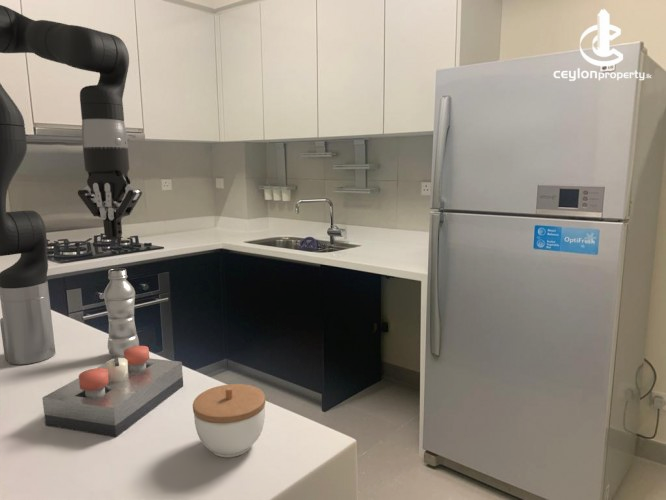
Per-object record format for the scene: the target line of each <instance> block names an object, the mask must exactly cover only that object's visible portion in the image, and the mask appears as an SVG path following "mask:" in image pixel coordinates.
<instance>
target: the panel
mask: <svg viewBox="0 0 666 500" xmlns="http://www.w3.org/2000/svg"><path fill="white" fill-rule="evenodd" d="M118 358H124V355H120V356H118ZM97 368H104V369H106V362H105V363H104V364H102V365H100V366H98V367H97ZM182 387H184V376H183V361H177V360H169V359H160V358H152V357H151V358H150V357H149V360H148V361H146V369H144V370H143V371H141V372H135V371H129V364H128V378H127V379H126V380H124V381H121V382H115V383H112V382H109V383H108V385H106V386H105V394H104V395H103V396H101V397H99V398H98V399H91V398H86V396H85V390H82V389H80V384H79V377H78V378H76V379H74V380H72V381H70V382H69V383H67V384H64V385H63V386H61V387H59V388H58V389H55V390H54V391H52V392H50V393H48V394H46V395H44V396H43V397H42V406H43V415H44V425H45V427H52V428H57V429H62V430H63V429H65V430H71V431H77V432H80V433H81V432H82V433H89V434H94V435H100V436H107V437H111V438H112V437H113V438H117V437H118V436H120V435H122V434H123V433H124V432H125V431H127V430H128V429H129V428H130V427H132V426H133V425H134V424H136V423H137V422H138V421H139V420H141V419H142V418H143V417H145V416H146V415H148V413H150V412H151V411H153V410H154V409H156V408H157V407H158V406H160V404H162V403H164V401H165V400H167V399H168V398H169V397H171V396H172V395H174V394H175V393H176V392H177V391H179V390H180V389H181V388H182Z"/></svg>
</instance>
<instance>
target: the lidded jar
mask: <svg viewBox="0 0 666 500" xmlns="http://www.w3.org/2000/svg"><path fill="white" fill-rule="evenodd" d="M265 407H266V395H265V393H264V392H263V390H261V389H260V388H259V387H257V386H253V385H250V384H244V383H230V384H229V383H228V384H222V385H218V386H214V387H211V388H209V389H207V390H205V391H202V392H201V393H199V394H198V395H197V396H196V397H195V398H194V400H193V402H192V410H193V411H192V412H193V416H194V425H195V431H196V434H197V436H198V438H199V440H200V441H201V444H203V446H205V448H207V450H209V451H211V453H212V454H213V455H215V456H217V457H220V458H235V457H236V458H237V457H239V456H241V455H243V454H246V453H247V452H248V451H249V450H250V449H251V448H252V446H253V445H254V444H255V443H256V441H258V439H259V437H260V436H261V434H262V432H263V427H264V423H265V417H266V408H265Z"/></svg>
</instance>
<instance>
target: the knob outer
mask: <svg viewBox="0 0 666 500" xmlns="http://www.w3.org/2000/svg"><path fill="white" fill-rule="evenodd" d="M78 378H79V384H80V389H82V390H85V396H86V398H91V399H98V398H99V397H101V396H103V395H104V394H105V386H106V385H108V383H109V379H108V370H107V369H104V368H98V367H96V368H95V367H94V368H91V369H86V370H84V371H82V372H80V373H79V375H78Z"/></svg>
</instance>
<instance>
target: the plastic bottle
mask: <svg viewBox="0 0 666 500" xmlns="http://www.w3.org/2000/svg"><path fill="white" fill-rule="evenodd" d="M107 271H108V273H107V274H108V276H107V278H108V280H109V282H108V284H107V286H106V287H105V289H104V291H103V299H104V303H105V307H106V312H107V317H108V339H107V349H108V353H109V355H111V357H113V358H114V357H118V356H120V355H124V350H125V349H127V348H130V347H134V346H140V341H139V340H140V339H139V337H138V334H137V329H136V323H135V300H136V291H135V288H134V287H133V285H132V284H131V283H130V282H129V281H128V280H127V278H128V275H127V269H126V268H112V269H109V270H107Z"/></svg>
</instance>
